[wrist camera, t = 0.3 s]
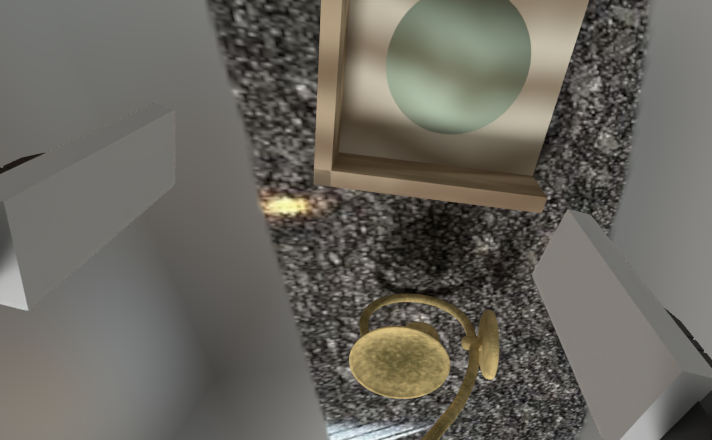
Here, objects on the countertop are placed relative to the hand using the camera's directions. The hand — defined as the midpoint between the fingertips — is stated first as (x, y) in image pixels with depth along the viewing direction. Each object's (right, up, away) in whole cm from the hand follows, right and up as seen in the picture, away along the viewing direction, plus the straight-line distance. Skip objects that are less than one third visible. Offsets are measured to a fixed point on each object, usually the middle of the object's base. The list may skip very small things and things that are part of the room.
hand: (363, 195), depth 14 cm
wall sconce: (+7, -9, +35) cm, 37 cm away
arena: (+7, +12, +23) cm, 27 cm away
